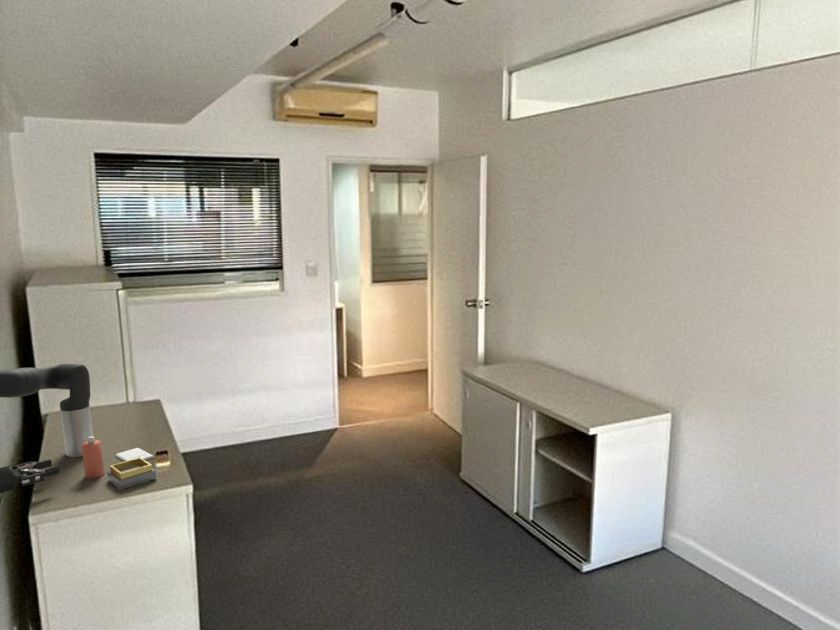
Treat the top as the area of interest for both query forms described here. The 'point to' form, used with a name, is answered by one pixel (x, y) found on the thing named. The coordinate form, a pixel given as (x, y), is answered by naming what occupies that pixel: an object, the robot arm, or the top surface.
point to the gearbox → (131, 473)
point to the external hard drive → (134, 455)
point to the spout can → (93, 458)
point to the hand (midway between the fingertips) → (55, 466)
